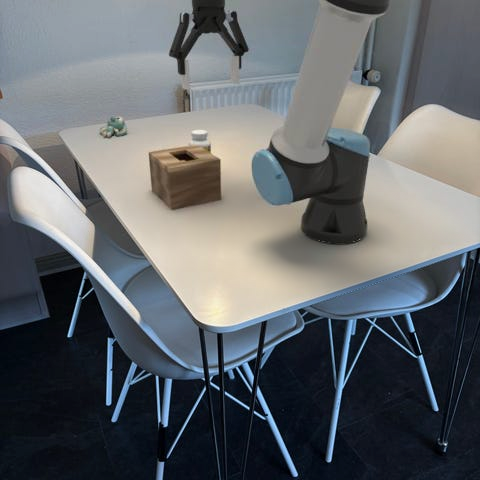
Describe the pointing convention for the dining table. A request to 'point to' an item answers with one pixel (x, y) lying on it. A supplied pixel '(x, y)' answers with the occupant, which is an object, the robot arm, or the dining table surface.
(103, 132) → the stuffed animal
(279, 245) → the dining table surface
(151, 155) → the coin box
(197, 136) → the pill bottle
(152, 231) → the dining table surface
